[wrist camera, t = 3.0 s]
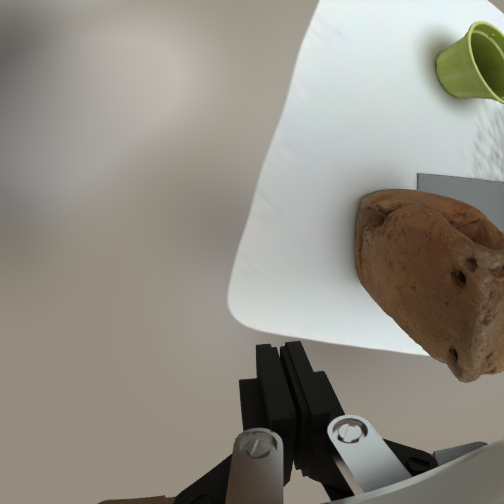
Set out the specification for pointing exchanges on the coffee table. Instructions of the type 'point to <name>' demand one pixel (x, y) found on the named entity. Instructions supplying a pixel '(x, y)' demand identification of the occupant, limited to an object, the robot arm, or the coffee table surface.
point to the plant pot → (474, 64)
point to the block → (436, 275)
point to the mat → (468, 193)
